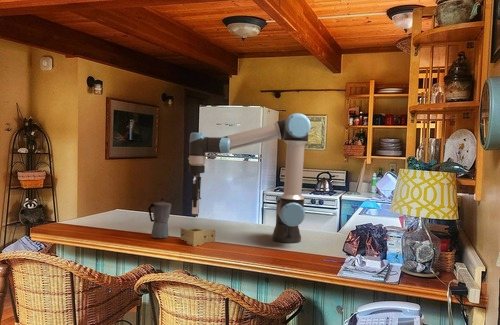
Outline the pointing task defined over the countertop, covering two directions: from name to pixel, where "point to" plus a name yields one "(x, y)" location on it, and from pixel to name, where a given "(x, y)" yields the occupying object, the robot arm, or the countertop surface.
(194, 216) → the pin
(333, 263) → the countertop surface
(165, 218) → the moka pot
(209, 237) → the wooden box
